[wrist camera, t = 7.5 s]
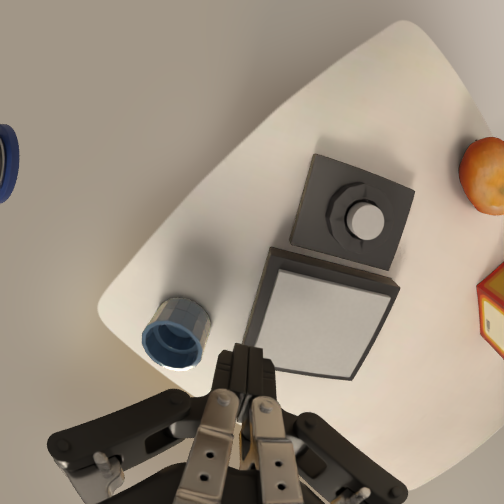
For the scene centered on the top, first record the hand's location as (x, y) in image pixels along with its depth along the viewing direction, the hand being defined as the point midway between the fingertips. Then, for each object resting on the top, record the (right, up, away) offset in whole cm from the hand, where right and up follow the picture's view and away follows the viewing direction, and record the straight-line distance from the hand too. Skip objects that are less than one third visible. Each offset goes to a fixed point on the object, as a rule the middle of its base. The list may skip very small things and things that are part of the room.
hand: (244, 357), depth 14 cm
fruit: (+24, +14, +8) cm, 29 cm away
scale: (+7, -1, +13) cm, 15 cm away
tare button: (+9, +8, +7) cm, 15 cm away
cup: (-7, -2, +14) cm, 16 cm away
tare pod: (+10, +9, +10) cm, 17 cm away
